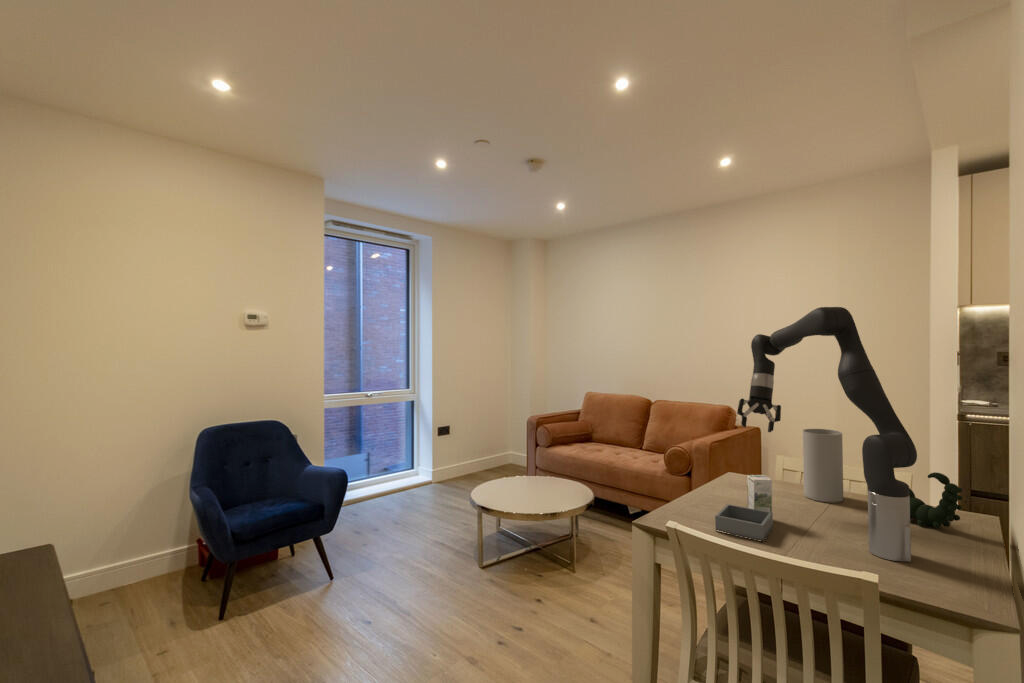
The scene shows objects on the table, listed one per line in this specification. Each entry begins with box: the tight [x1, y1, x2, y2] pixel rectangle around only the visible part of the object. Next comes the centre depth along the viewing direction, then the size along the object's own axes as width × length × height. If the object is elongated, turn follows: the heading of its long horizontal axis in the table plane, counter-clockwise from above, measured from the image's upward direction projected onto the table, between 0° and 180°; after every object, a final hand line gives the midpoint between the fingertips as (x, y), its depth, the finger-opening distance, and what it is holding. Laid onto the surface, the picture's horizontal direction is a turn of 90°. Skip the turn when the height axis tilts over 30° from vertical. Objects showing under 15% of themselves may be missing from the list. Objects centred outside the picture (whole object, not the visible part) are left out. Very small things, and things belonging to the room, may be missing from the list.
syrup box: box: [746, 474, 773, 513], centre depth 159 cm, size 6×6×14 cm
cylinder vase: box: [802, 428, 844, 504], centre depth 180 cm, size 12×12×25 cm
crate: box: [714, 503, 774, 542], centre depth 151 cm, size 14×14×5 cm
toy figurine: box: [910, 472, 963, 529], centre depth 156 cm, size 9×19×25 cm
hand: (756, 429), depth 177 cm, fingers open, 8 cm apart
